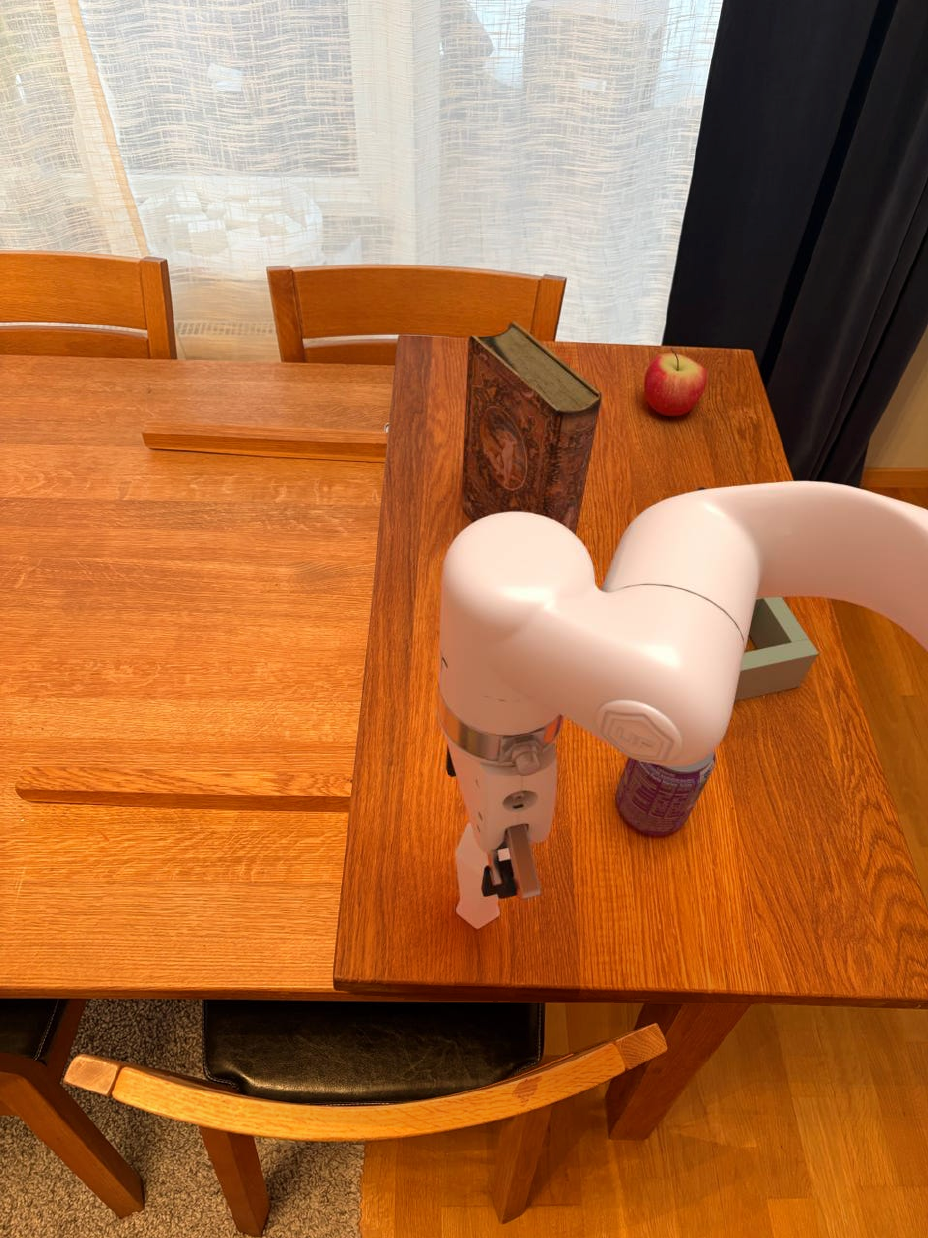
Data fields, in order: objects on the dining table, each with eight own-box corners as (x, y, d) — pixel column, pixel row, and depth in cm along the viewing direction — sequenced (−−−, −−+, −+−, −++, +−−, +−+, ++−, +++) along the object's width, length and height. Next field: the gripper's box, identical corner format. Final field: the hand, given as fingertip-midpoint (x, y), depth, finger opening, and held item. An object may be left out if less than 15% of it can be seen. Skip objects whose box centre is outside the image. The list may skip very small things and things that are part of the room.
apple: (633, 391, 124) (646, 330, 117) (690, 390, 125) (707, 329, 117) (643, 427, 119) (658, 365, 111) (703, 426, 120) (722, 365, 112)
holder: (799, 687, 92) (819, 653, 87) (713, 706, 90) (728, 673, 85) (755, 615, 98) (771, 581, 93) (673, 632, 96) (685, 597, 92)
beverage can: (679, 770, 85) (710, 703, 76) (695, 837, 81) (730, 775, 71) (608, 773, 85) (631, 706, 75) (621, 840, 80) (647, 778, 71)
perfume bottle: (450, 931, 74) (454, 860, 63) (453, 882, 77) (458, 805, 65) (503, 935, 74) (517, 864, 63) (504, 885, 77) (518, 809, 65)
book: (575, 574, 101) (610, 399, 82) (538, 592, 99) (564, 418, 80) (496, 493, 110) (511, 317, 90) (461, 508, 108) (468, 332, 88)
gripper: (616, 815, 45) (571, 927, 59) (518, 578, 56) (499, 719, 69) (480, 848, 44) (466, 955, 57) (405, 598, 54) (408, 738, 68)
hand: (484, 826), depth 63 cm, fingers open, 9 cm apart
